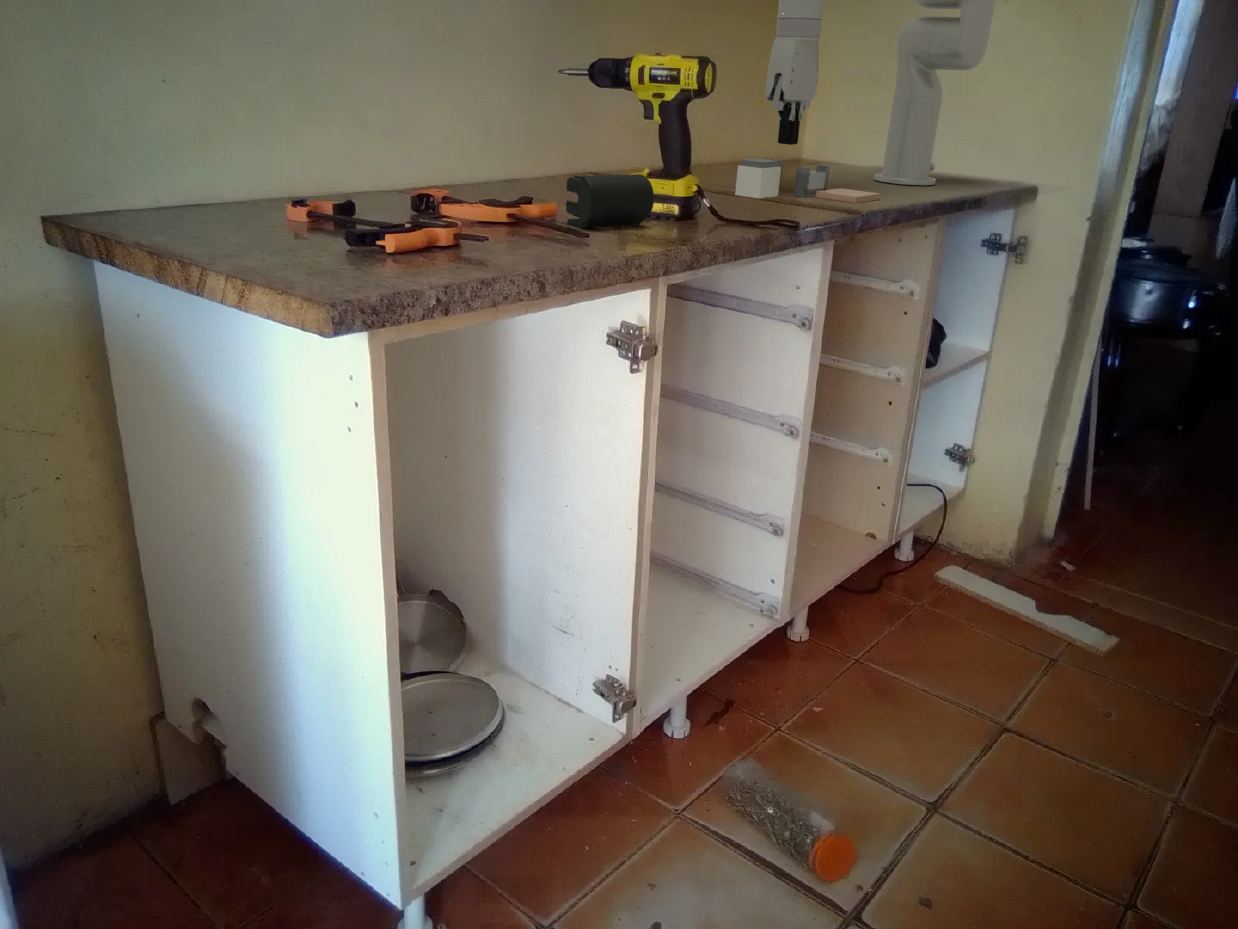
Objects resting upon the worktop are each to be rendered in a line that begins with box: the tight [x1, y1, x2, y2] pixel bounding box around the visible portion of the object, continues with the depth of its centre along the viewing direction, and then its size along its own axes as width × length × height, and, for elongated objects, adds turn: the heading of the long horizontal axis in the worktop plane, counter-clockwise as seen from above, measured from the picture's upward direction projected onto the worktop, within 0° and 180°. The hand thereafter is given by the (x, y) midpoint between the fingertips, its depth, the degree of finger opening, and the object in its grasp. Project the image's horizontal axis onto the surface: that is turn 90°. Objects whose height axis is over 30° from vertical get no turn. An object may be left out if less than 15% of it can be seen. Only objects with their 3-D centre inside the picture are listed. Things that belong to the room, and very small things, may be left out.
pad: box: [815, 187, 882, 204], centre depth 169 cm, size 9×8×1 cm
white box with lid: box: [734, 158, 782, 199], centre depth 165 cm, size 6×5×6 cm
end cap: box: [565, 173, 655, 229], centre depth 127 cm, size 10×7×7 cm
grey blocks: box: [769, 158, 831, 198], centre depth 173 cm, size 8×12×5 cm, turn 49°
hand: (787, 143), depth 169 cm, fingers closed
